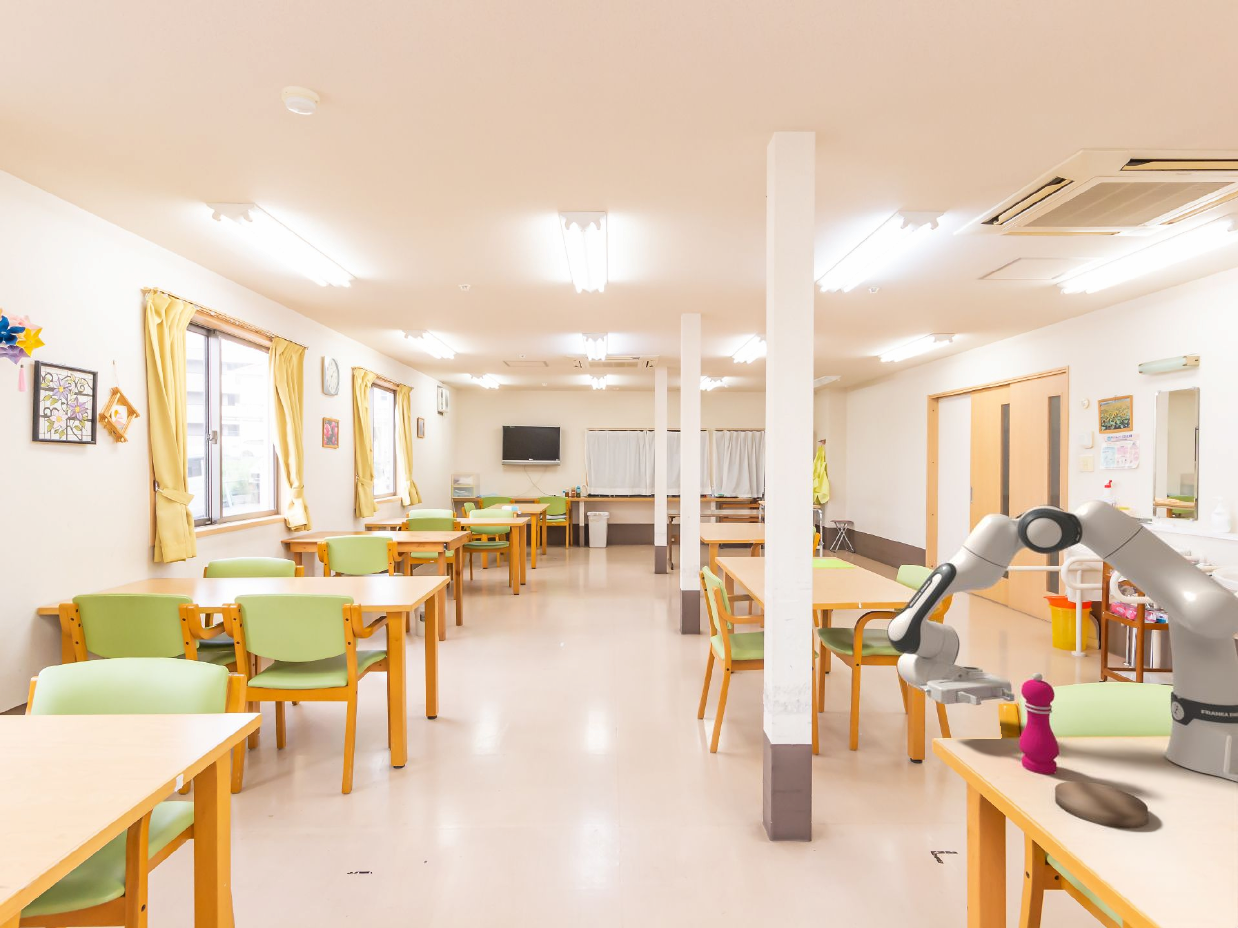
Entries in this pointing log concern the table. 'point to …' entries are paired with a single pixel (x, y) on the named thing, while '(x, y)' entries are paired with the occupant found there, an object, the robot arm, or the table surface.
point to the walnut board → (1101, 804)
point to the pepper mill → (1038, 727)
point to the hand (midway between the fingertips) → (995, 699)
